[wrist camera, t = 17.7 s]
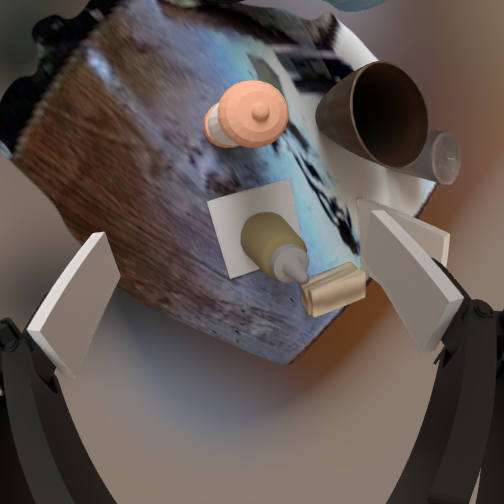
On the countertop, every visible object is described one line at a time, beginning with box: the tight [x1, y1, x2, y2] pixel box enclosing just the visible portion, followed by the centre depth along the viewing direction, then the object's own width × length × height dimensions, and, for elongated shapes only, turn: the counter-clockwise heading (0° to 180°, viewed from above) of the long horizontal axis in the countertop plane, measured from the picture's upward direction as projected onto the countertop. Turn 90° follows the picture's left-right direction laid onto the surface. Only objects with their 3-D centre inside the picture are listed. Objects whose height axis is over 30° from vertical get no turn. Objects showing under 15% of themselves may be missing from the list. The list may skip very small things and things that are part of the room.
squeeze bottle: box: [240, 212, 309, 285], centre depth 37 cm, size 8×8×18 cm
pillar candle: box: [392, 130, 461, 185], centre depth 41 cm, size 10×10×15 cm
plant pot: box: [315, 61, 429, 169], centre depth 35 cm, size 15×15×16 cm
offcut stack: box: [299, 262, 366, 318], centre depth 52 cm, size 7×13×5 cm, turn 104°
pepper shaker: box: [203, 80, 289, 148], centre depth 30 cm, size 7×7×19 cm
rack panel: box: [356, 197, 450, 284], centre depth 43 cm, size 16×2×22 cm, turn 14°
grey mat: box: [207, 179, 301, 279], centre depth 46 cm, size 14×14×1 cm
